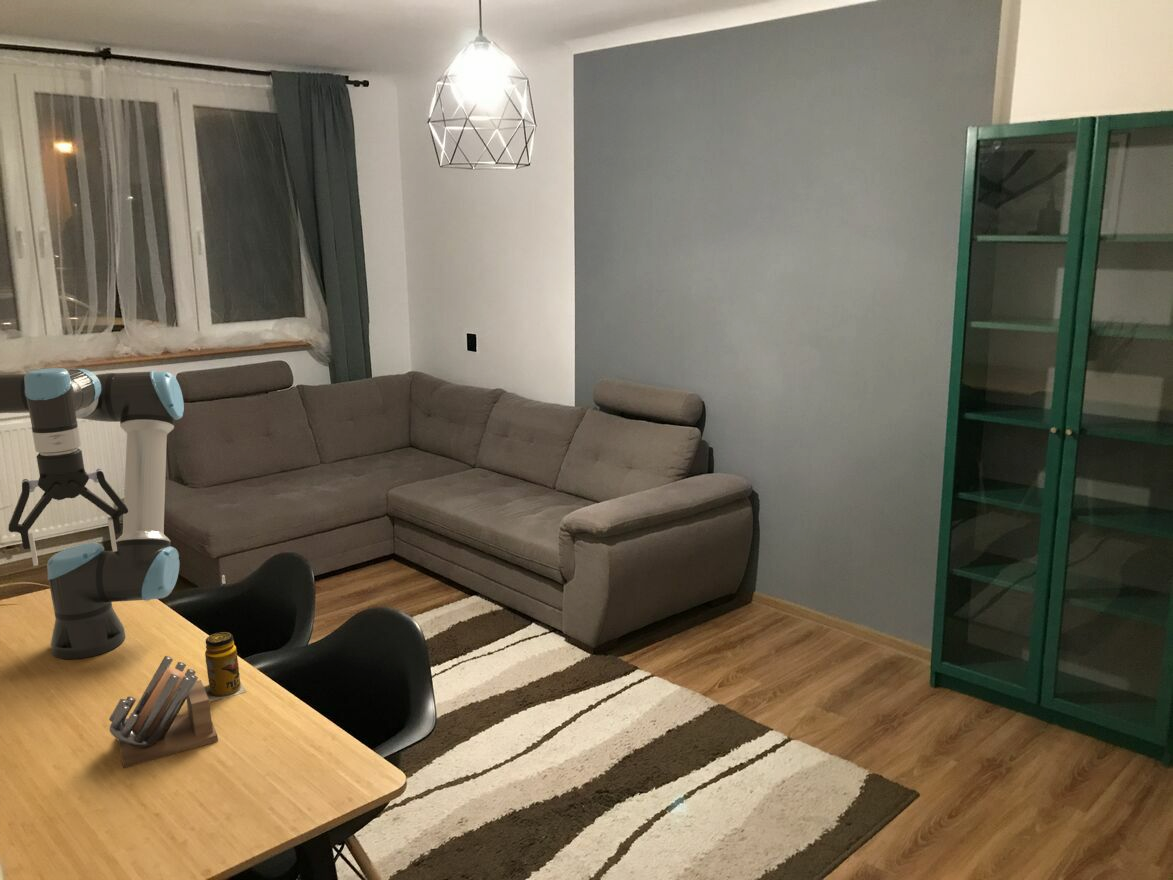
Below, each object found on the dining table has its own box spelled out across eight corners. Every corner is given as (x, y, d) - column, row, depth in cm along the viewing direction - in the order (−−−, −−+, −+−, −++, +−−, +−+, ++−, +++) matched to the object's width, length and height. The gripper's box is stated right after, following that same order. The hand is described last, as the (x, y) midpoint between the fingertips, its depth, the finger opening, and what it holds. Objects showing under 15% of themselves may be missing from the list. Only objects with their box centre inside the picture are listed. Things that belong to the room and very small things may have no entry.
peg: (131, 721, 174) (165, 665, 174) (151, 727, 176) (185, 672, 176) (133, 732, 170) (168, 674, 171) (154, 738, 172) (188, 681, 173)
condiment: (246, 692, 192) (240, 638, 189) (203, 704, 187) (196, 649, 185) (237, 678, 198) (231, 626, 195) (195, 689, 193) (188, 636, 190)
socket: (110, 740, 175) (99, 670, 171) (199, 717, 182) (190, 648, 179) (115, 767, 166) (103, 693, 163) (208, 740, 174) (199, 669, 170)
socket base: (117, 737, 176) (111, 698, 174) (207, 712, 184) (202, 676, 182) (123, 767, 166) (117, 727, 164) (218, 740, 174) (213, 702, 172)
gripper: (-20, 465, 167) (0, 576, 172) (133, 445, 179) (148, 549, 184) (-19, 456, 173) (1, 563, 178) (129, 437, 185) (143, 538, 190)
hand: (75, 556), depth 181 cm, fingers open, 13 cm apart
